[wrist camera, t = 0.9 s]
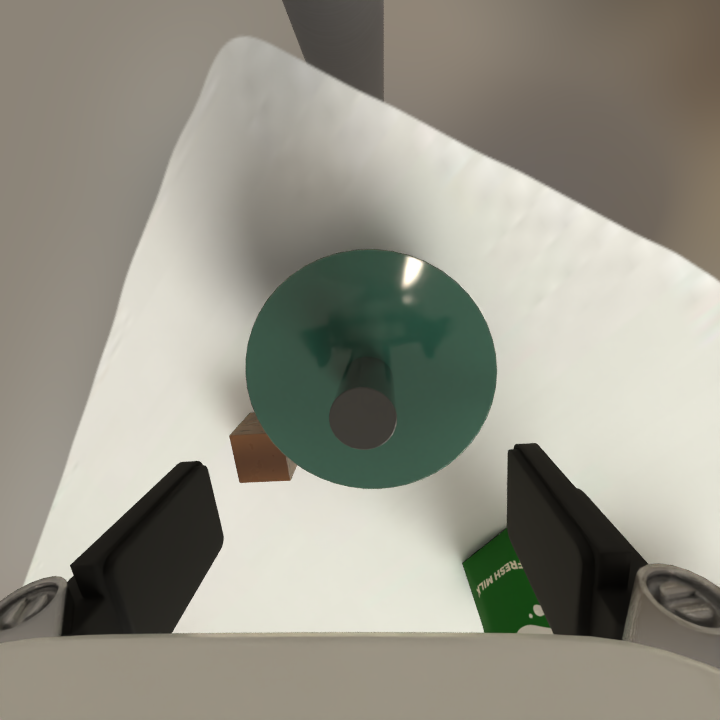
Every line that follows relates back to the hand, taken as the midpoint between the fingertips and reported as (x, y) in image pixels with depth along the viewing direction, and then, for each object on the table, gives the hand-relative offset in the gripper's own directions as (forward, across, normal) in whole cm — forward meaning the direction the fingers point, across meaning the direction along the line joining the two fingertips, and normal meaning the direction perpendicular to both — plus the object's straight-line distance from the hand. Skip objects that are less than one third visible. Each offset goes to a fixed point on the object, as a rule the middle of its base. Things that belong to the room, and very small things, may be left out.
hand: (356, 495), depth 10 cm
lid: (+10, 0, 0) cm, 11 cm away
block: (+20, +10, +8) cm, 24 cm away
